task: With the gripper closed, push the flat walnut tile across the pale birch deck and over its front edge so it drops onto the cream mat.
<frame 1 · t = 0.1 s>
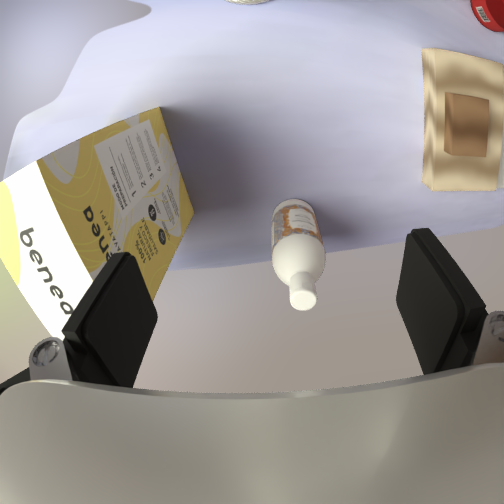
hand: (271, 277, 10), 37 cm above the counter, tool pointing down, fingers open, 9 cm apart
walnut tile: (463, 123, 34), point 4 cm above the counter, touching birch deck
canned food: (485, 11, 26), on the counter
birch deck: (459, 119, 38), on the counter
pasta box: (147, 169, 46), on the counter
bath foam: (293, 217, 50), on the counter
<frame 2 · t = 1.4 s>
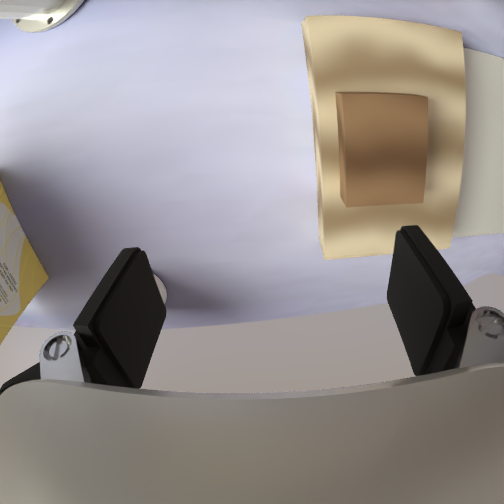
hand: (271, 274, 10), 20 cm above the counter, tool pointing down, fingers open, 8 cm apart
walnut tile: (378, 144, 23), point 4 cm above the counter, touching birch deck
birch deck: (384, 134, 26), on the counter
cream mat: (490, 148, 25), on the counter
pasta box: (3, 232, 35), on the counter
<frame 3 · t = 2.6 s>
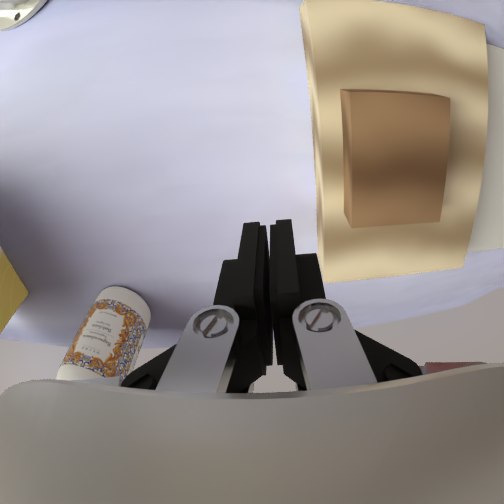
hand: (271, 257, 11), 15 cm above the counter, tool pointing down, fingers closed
walnut tile: (390, 152, 19), point 4 cm above the counter, touching birch deck
birch deck: (394, 139, 22), on the counter
bath foam: (125, 305, 34), on the counter
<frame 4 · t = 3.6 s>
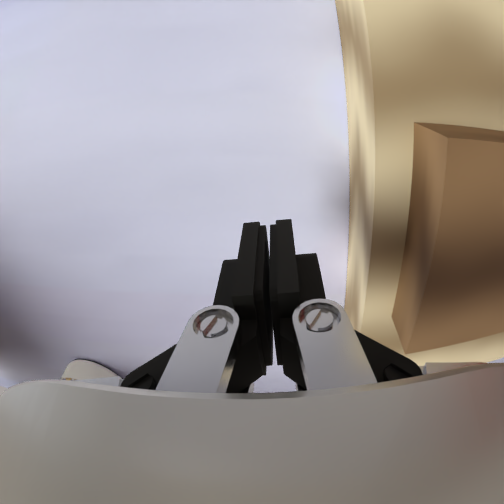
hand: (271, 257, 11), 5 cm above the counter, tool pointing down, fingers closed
walnut tile: (472, 230, 11), point 4 cm above the counter, touching birch deck
birch deck: (463, 193, 14), on the counter
bath foam: (100, 377, 26), on the counter
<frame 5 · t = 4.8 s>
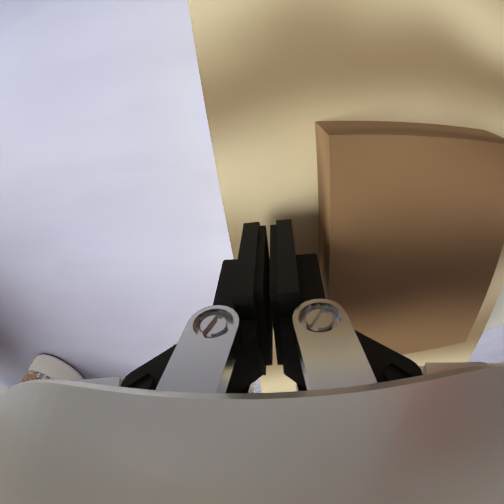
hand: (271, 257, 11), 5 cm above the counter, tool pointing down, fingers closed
walnut tile: (403, 235, 11), point 4 cm above the counter, touching birch deck
birch deck: (377, 193, 15), on the counter
bath foam: (62, 372, 27), on the counter
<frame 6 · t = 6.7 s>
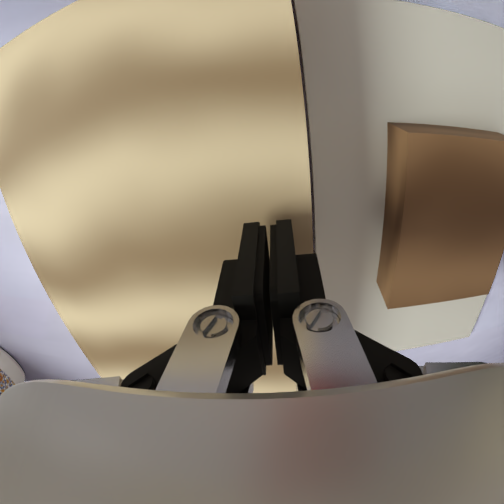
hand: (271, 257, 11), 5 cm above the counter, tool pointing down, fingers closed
walnut tile: (462, 229, 12), point 3 cm above the counter, tilted 180°, touching cream mat
birch deck: (167, 214, 16), on the counter
cream mat: (428, 211, 15), on the counter
bath foam: (6, 359, 28), on the counter
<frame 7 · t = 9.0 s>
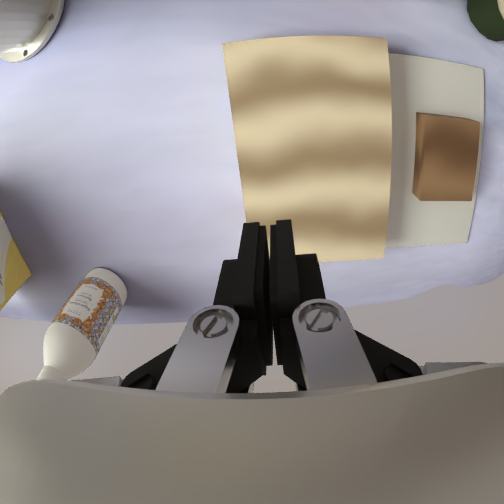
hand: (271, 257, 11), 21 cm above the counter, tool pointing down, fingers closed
walnut tile: (452, 161, 26), point 3 cm above the counter, tilted 180°, touching cream mat
birch deck: (312, 147, 29), on the counter
cream mat: (435, 156, 28), on the counter
character mug: (483, 16, 18), on the counter
bath foam: (107, 285, 41), on the counter
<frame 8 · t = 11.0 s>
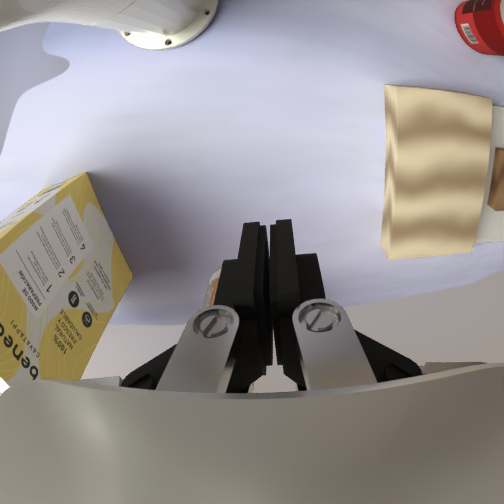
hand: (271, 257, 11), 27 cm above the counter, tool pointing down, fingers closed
canned food: (474, 27, 23), on the counter
birch deck: (431, 169, 35), on the counter
cream mat: (502, 178, 34), on the counter
pasta box: (85, 233, 43), on the counter
bath foam: (232, 283, 47), on the counter
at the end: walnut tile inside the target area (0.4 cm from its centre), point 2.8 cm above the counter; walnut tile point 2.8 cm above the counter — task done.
